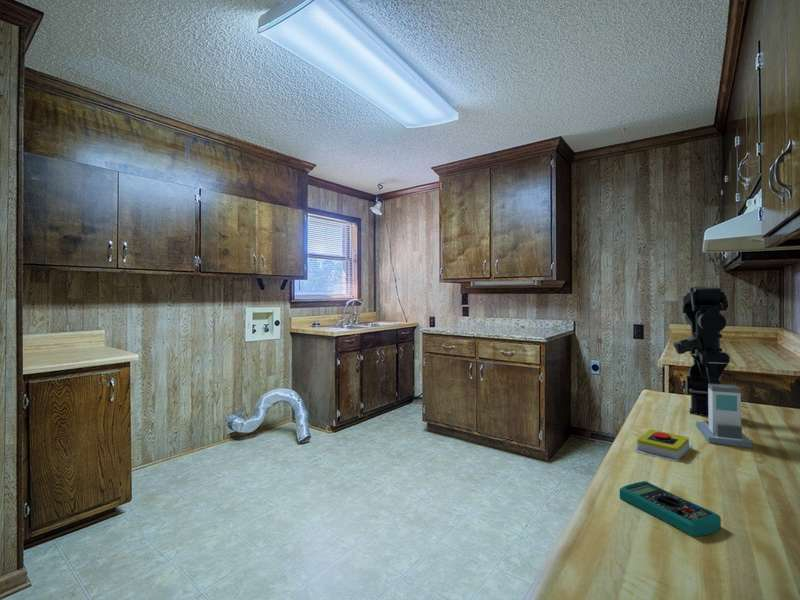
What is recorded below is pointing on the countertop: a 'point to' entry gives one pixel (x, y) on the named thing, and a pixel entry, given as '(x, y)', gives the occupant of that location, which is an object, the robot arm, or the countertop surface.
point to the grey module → (724, 405)
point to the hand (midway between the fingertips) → (708, 382)
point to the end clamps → (729, 431)
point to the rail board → (713, 439)
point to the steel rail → (722, 437)
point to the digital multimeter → (671, 508)
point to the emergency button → (663, 445)
